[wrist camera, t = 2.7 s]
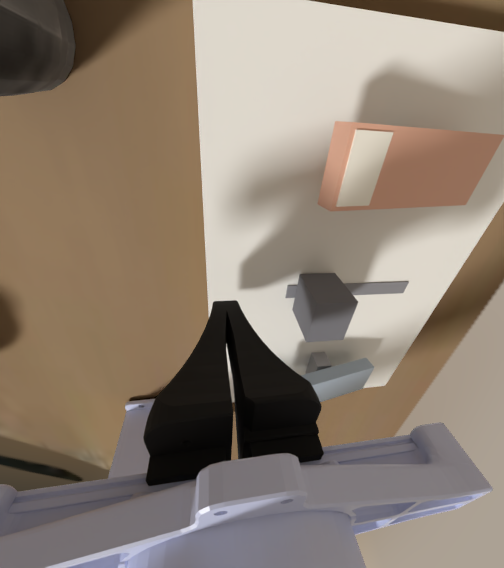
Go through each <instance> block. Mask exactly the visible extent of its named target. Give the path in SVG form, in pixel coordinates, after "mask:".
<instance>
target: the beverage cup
mask: <svg viewBox="0 0 504 568" xmlns="http://www.w3.org/2000/svg"><path fill="white" fill-rule="evenodd" d="M75 47H76V46H75V40H74V33H73V26H72V21H71V19H70V16H69V13H68V11H67V8H66V6H65V3H64V0H0V96H12V95H20V94H27V93H34V92H39V91H46V90H52V89H54V88H55V87H57V86H58V85H60V84H61V83H63V82H64V81H65V80H66V78H67V76H68V74H69V72H70V71H71V69H72V67H73V62H74V54H75Z"/></svg>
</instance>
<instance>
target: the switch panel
mask: <svg viewBox="0 0 504 568" xmlns="http://www.w3.org/2000/svg"><path fill="white" fill-rule="evenodd" d="M193 16H194V36H195V55H196V75H197V94H198V114H199V133H200V153H201V172H202V192H203V211H204V231H205V250H206V270H207V289H208V309H209V317H210V314H211V310H212V305H213V302H214V301H231V300H237V301H238V303H239V305H240V308H241V310H242V312H243V313H244V315H245V317H246V319H247V320H248V322H249V323H250V325H251V326H252V328H253V329H254V331H255V332H256V333H257V335H258V336H259V337H260V338H261V340H262V341H263V342H264V343H265V344H266V345H267V346H268V348H269V349H270V350H271V351H272V352H273V353H274V354H275V355H276V356H277V357H279V358H280V359H281V360H282V361H283V362H284V363H285V364H286V365H287V366H289V367H290V368H291V369H292V370H294V371H295V372H296V373H298V374H299V375H304V374H307V373H311V372H315V371H318V370H322V369H326V368H329V367H333V366H337V365H340V364H344V363H348V362H351V361H355V360H359V359H362V358H367V359H368V360H369V361H370V362H371V364H372V365H373V366H374V369H373V371H372V373H371V375H370V376H369V378H368V380H367V382H366V383H365V385H364V387H363V388H368V387H377V386H385V385H386V383H387V382H388V380H389V379H390V377H391V376H392V374H393V372H394V371H395V369H396V368H397V366H398V365H399V363H400V362H401V360H402V358H403V357H404V355H405V354H406V352H407V351H408V349H409V348H410V346H411V345H412V343H413V341H414V340H415V338H416V337H417V335H418V334H419V332H420V331H421V329H422V327H423V326H424V324H425V323H426V321H427V320H428V318H429V317H430V315H431V314H432V312H433V310H434V309H435V307H436V306H437V304H438V303H439V301H440V300H441V298H442V296H443V295H444V293H445V292H446V290H447V289H448V287H449V286H450V284H451V283H452V281H453V279H454V278H455V276H456V275H457V273H458V272H459V270H460V269H461V267H462V265H463V264H464V262H465V261H466V259H467V258H468V256H469V255H470V253H471V252H472V250H473V248H474V247H475V245H476V244H477V242H478V241H479V239H480V238H481V236H482V234H483V233H484V231H485V230H486V228H487V227H488V225H489V224H490V222H491V221H492V219H493V217H494V216H495V214H496V213H497V211H498V210H499V208H500V207H501V205H502V203H503V202H504V138H503V140H502V141H501V143H500V145H499V147H498V148H497V150H496V152H495V154H494V156H493V157H492V159H491V161H490V163H489V164H488V166H487V168H486V170H485V172H484V173H483V175H482V177H481V179H480V180H479V182H478V184H477V186H476V188H475V189H474V191H473V193H472V195H471V197H470V198H469V200H468V202H467V204H466V205H457V206H436V207H415V208H393V209H372V210H351V211H329V210H327V209H325V208H323V207H322V206H320V205H318V204H317V203H318V199H319V194H320V189H321V185H322V180H323V175H324V171H325V166H326V162H327V157H328V152H329V148H330V143H331V138H332V134H333V129H334V124H335V121H341V122H358V123H370V124H381V125H393V126H405V127H417V128H429V129H440V130H452V131H464V132H476V133H487V134H499V135H504V32H500V31H494V30H488V29H482V28H476V27H469V26H463V25H457V24H451V23H445V22H439V21H432V20H426V19H420V18H414V17H408V16H401V15H395V14H389V13H383V12H377V11H371V10H364V9H358V8H352V7H346V6H340V5H334V4H327V3H321V2H315V1H309V0H193ZM313 273H336V275H337V276H338V277H339V278H340V280H341V281H342V282H343V283H344V285H345V286H346V287H347V288H348V290H349V291H350V292H351V293H352V295H353V296H354V297H355V298H356V299H357V301H358V304H357V307H356V309H355V312H354V314H353V317H352V319H351V322H350V324H349V327H348V329H347V332H346V334H345V337H344V339H343V340H333V341H320V342H306V341H305V338H304V336H303V334H302V331H301V329H300V327H299V324H298V322H297V320H296V317H295V315H294V313H293V310H292V309H293V304H294V299H295V294H296V289H297V285H298V280H299V275H300V274H313ZM226 353H227V363H228V372H229V381H230V390H231V398H232V402H235V400H234V387H233V379H232V372H231V367H230V361H229V355H228V349H227V343H226Z"/></svg>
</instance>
